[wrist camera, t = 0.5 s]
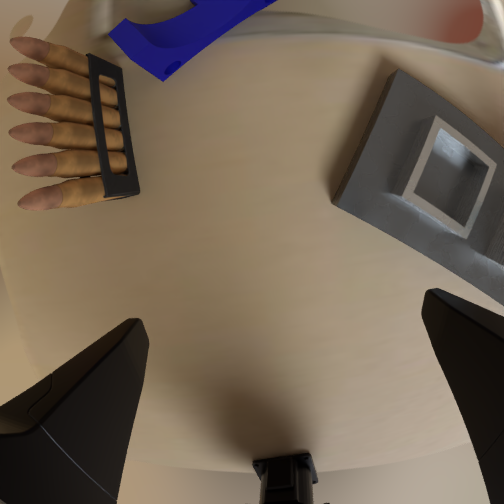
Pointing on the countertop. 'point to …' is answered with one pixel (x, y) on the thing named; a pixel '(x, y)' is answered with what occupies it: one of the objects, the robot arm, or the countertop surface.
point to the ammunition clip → (73, 127)
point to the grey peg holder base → (431, 183)
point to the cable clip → (181, 34)
